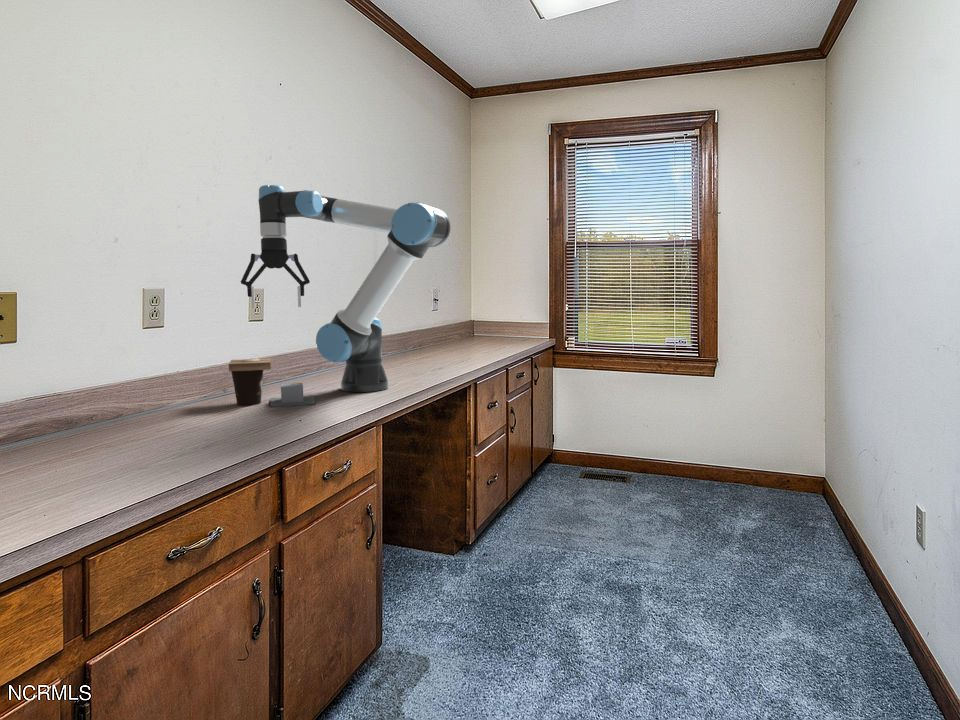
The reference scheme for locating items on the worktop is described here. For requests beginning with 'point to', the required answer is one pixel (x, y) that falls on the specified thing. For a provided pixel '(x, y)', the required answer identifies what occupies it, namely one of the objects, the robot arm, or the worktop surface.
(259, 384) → the coffee mug
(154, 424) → the worktop surface
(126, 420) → the worktop surface
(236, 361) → the lid
